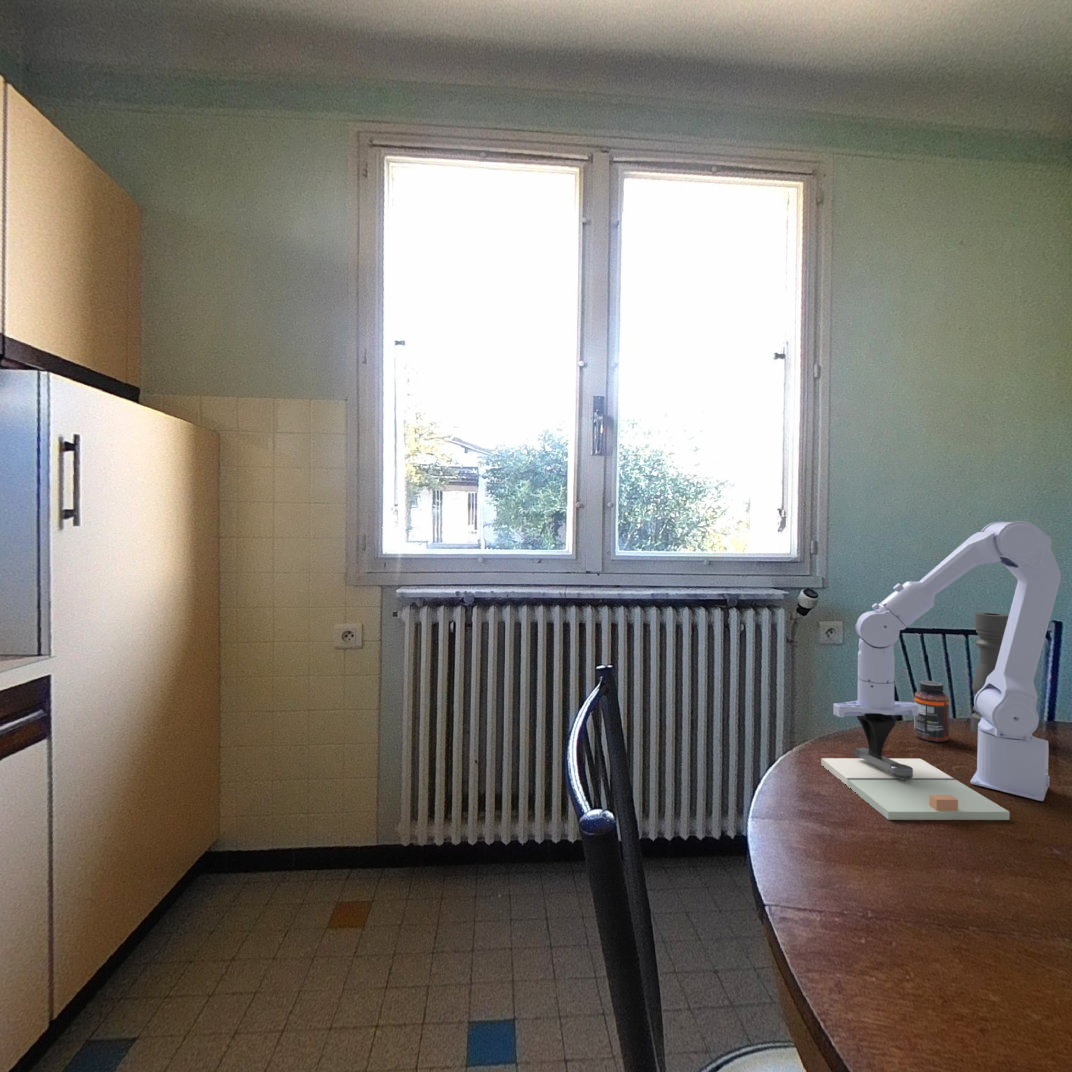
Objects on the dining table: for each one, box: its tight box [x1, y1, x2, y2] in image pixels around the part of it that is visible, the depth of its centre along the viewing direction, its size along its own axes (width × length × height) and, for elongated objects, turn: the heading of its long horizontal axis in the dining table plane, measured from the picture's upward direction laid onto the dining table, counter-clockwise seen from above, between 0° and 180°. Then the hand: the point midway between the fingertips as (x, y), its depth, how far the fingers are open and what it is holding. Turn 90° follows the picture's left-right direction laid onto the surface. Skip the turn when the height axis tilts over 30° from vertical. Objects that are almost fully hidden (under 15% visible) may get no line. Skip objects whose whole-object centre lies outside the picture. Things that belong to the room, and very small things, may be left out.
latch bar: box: [854, 747, 913, 778], centre depth 105 cm, size 11×3×1 cm, turn 15°
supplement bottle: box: [913, 680, 950, 743], centre depth 125 cm, size 6×6×11 cm
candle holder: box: [970, 611, 1009, 735], centre depth 128 cm, size 6×6×25 cm
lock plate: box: [820, 757, 1011, 821], centre depth 100 cm, size 18×20×3 cm
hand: (875, 755), depth 109 cm, fingers closed
